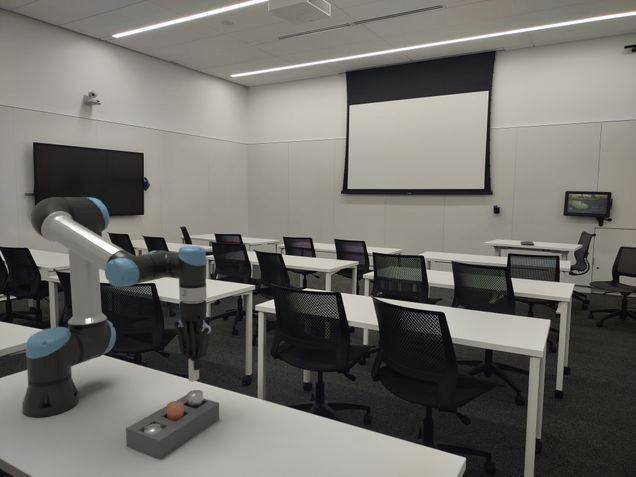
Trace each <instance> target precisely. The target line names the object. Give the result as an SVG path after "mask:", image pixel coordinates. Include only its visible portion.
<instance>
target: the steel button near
mask: <svg viewBox="0 0 636 477" xmlns="http://www.w3.org/2000/svg"><path fill="white" fill-rule="evenodd" d="M160 430H162V426H161V425H160V424H151V425H148V426H146V427H145V428H144V433H147V434H150V435H154V434H156V433H157V432H159V431H160Z"/></svg>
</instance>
